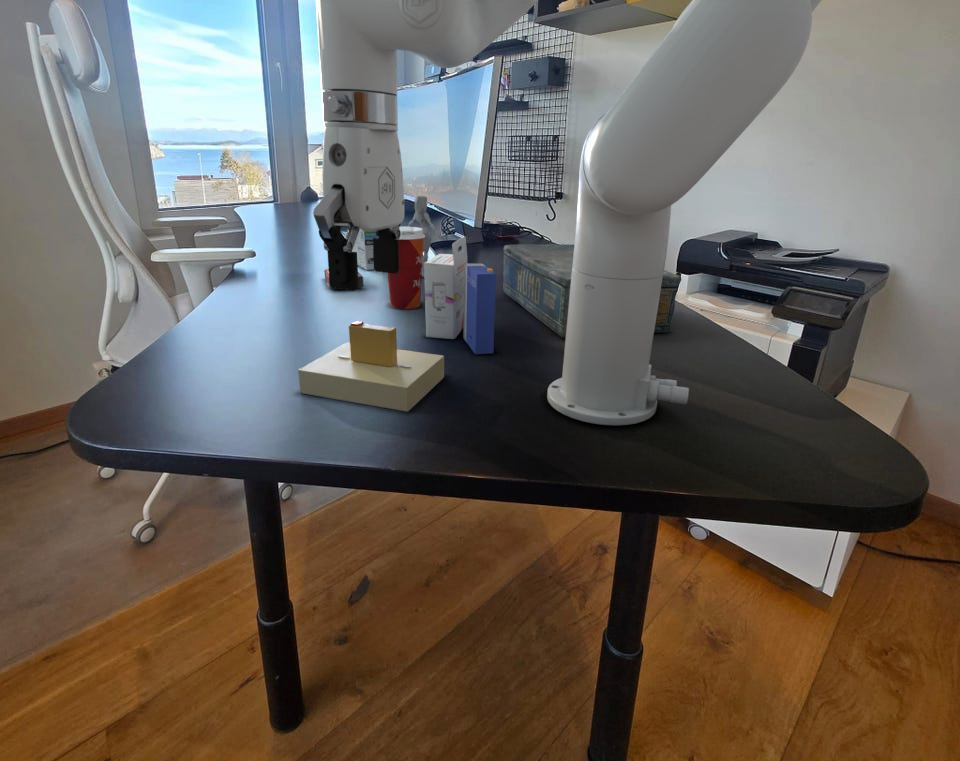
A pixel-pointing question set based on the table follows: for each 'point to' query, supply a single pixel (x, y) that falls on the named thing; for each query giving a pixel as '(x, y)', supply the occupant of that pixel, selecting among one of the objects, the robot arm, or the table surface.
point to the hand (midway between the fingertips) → (366, 279)
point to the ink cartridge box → (445, 292)
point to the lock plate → (372, 378)
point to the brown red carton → (360, 284)
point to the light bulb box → (365, 249)
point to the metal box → (561, 284)
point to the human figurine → (423, 224)
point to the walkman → (479, 307)
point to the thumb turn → (373, 344)
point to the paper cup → (407, 270)
